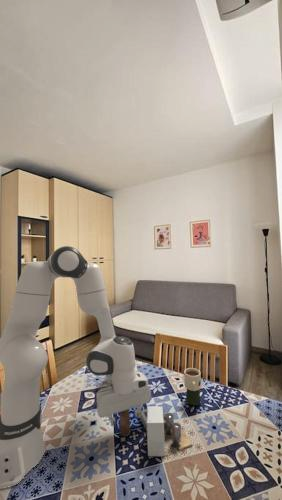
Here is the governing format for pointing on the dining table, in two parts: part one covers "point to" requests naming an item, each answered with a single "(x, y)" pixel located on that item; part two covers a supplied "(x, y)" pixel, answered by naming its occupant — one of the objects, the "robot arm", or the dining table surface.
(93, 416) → the dining table surface
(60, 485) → the dining table surface
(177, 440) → the dogs
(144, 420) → the grey partly piece
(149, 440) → the small box
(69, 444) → the dining table surface
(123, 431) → the dowel
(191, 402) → the character mug
